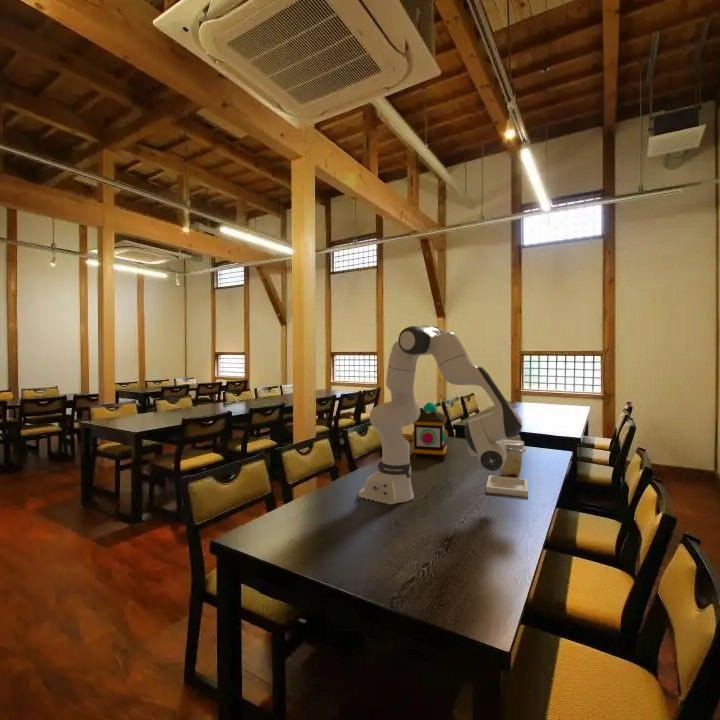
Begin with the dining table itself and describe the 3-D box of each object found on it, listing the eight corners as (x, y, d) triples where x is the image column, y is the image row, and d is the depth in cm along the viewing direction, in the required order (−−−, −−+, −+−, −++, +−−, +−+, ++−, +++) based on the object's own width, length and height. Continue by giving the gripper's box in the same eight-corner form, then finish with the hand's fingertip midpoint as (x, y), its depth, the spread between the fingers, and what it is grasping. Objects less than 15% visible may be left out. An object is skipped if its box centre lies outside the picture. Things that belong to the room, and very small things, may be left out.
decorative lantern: (415, 450, 237) (415, 399, 236) (450, 452, 231) (449, 400, 230) (409, 459, 218) (408, 404, 217) (446, 462, 212) (446, 405, 211)
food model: (498, 476, 188) (498, 433, 187) (500, 472, 194) (500, 431, 193) (521, 479, 184) (521, 435, 183) (522, 475, 190) (522, 432, 189)
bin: (486, 492, 168) (486, 486, 168) (488, 480, 183) (488, 475, 183) (528, 497, 162) (528, 491, 162) (527, 484, 177) (527, 478, 177)
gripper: (525, 442, 141) (525, 434, 154) (465, 438, 149) (469, 430, 162) (525, 460, 141) (525, 450, 154) (465, 455, 149) (469, 446, 162)
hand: (496, 440), depth 158 cm, fingers closed on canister, 5 cm apart
